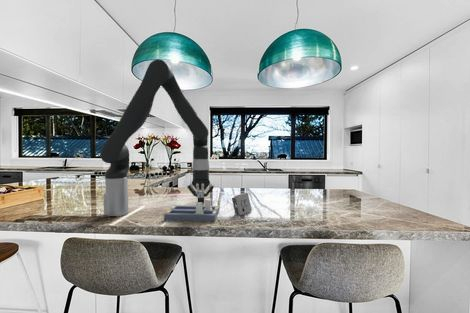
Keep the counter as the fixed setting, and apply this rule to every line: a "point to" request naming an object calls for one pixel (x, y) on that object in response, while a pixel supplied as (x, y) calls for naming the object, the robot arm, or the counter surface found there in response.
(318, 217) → the counter surface
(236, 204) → the electrical switch
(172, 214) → the blue-grey compartment tray
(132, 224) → the counter surface
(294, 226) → the counter surface
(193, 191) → the robot arm
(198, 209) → the tab
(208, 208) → the tab
